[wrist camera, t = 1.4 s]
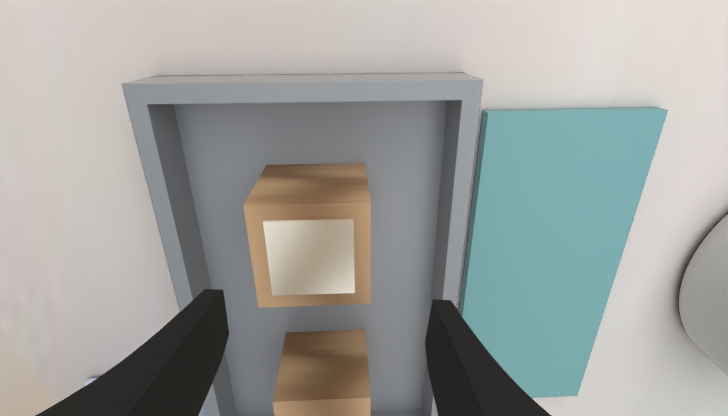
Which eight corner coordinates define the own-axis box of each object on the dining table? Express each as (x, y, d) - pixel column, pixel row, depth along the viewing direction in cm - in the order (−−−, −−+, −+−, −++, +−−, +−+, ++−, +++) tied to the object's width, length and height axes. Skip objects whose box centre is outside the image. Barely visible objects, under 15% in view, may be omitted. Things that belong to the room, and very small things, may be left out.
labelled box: (276, 249, 22) (258, 309, 17) (266, 164, 20) (242, 206, 15) (365, 247, 22) (370, 305, 17) (364, 162, 20) (371, 203, 15)
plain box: (292, 389, 26) (281, 463, 22) (285, 332, 24) (272, 401, 20) (366, 386, 27) (370, 459, 22) (365, 329, 25) (370, 397, 20)
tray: (230, 418, 28) (218, 460, 25) (155, 75, 18) (121, 84, 15) (430, 409, 29) (439, 449, 26) (462, 72, 19) (483, 79, 16)
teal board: (448, 391, 28) (451, 401, 27) (483, 109, 20) (488, 112, 19) (571, 386, 28) (577, 395, 28) (656, 107, 20) (668, 110, 19)
